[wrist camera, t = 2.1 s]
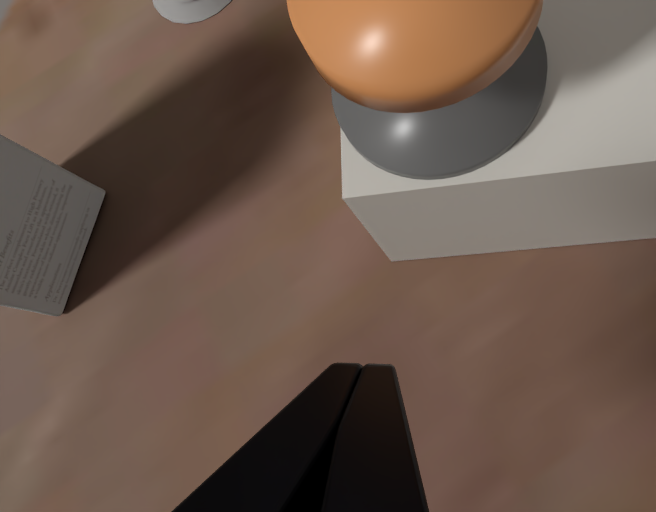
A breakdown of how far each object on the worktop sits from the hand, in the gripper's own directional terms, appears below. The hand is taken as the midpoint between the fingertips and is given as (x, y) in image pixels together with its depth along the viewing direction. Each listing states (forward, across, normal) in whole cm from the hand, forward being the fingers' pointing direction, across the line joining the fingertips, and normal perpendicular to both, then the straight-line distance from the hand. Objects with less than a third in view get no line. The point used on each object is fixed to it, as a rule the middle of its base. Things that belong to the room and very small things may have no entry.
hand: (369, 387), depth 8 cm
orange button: (+9, 0, -2) cm, 10 cm away
